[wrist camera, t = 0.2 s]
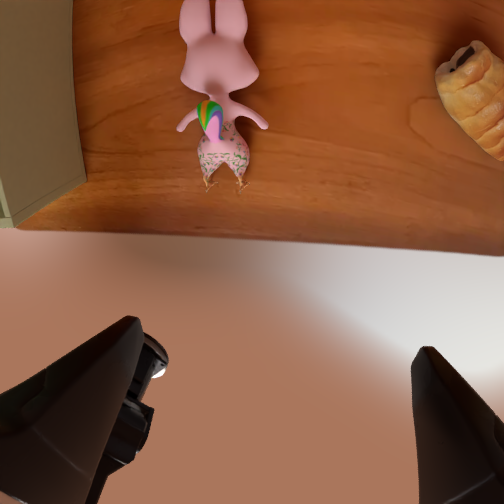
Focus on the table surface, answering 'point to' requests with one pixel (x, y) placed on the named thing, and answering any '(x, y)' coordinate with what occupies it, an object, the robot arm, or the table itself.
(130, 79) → the table surface
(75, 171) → the bin
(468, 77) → the pastry
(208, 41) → the rabbit figure
